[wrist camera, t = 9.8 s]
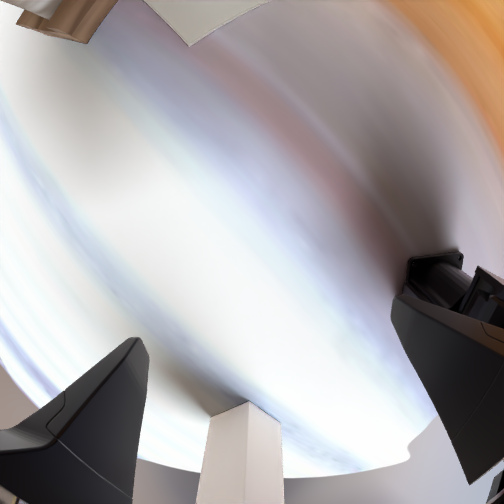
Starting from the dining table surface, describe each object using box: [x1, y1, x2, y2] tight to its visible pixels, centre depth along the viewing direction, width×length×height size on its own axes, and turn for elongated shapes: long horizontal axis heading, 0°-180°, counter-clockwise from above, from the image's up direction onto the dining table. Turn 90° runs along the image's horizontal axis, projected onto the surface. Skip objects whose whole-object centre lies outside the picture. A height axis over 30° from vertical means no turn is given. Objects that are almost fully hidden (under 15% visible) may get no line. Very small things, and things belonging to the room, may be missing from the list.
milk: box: [196, 401, 284, 504], centre depth 17 cm, size 6×6×22 cm
